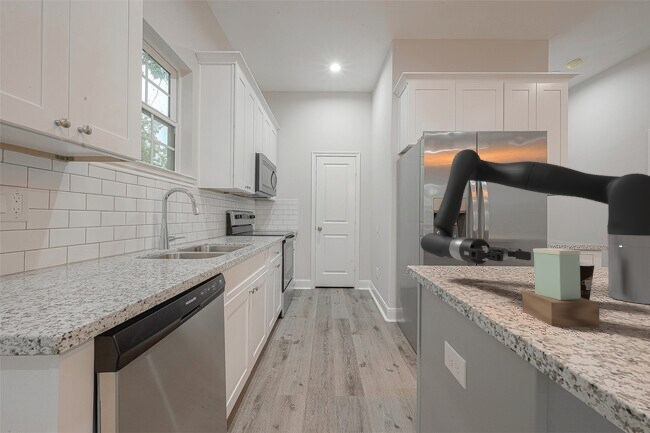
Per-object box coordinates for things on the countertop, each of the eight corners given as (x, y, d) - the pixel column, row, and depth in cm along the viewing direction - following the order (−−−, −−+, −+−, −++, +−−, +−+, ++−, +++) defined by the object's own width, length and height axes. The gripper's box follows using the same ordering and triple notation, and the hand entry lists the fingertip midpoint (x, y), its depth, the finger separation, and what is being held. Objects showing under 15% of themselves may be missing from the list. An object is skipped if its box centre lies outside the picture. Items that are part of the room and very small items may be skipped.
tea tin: (553, 292, 63) (552, 248, 63) (581, 298, 57) (580, 250, 58) (534, 293, 62) (533, 248, 62) (560, 300, 56) (559, 250, 56)
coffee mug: (576, 297, 75) (575, 260, 75) (605, 307, 67) (604, 266, 67) (531, 296, 76) (530, 260, 77) (553, 305, 68) (553, 265, 68)
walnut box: (563, 313, 63) (563, 291, 63) (599, 328, 54) (599, 303, 54) (522, 312, 64) (522, 290, 64) (551, 327, 55) (551, 302, 55)
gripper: (448, 238, 83) (492, 242, 67) (487, 237, 86) (538, 241, 70) (448, 262, 83) (492, 273, 67) (488, 261, 86) (539, 270, 70)
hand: (516, 256), depth 69 cm, fingers open, 8 cm apart
